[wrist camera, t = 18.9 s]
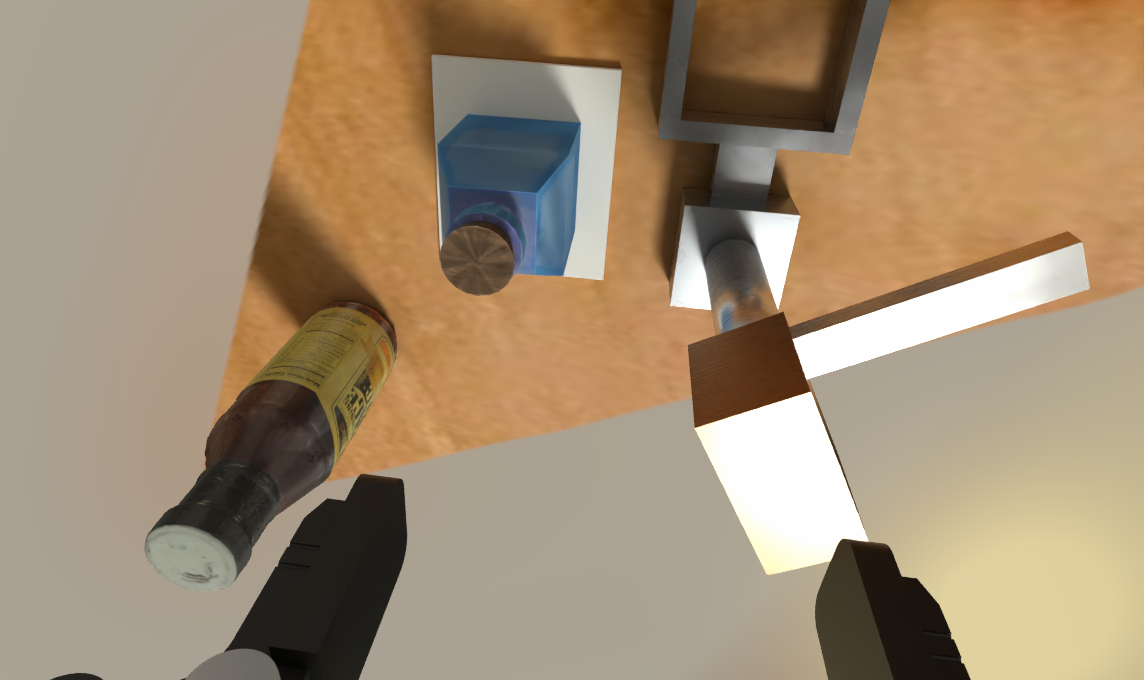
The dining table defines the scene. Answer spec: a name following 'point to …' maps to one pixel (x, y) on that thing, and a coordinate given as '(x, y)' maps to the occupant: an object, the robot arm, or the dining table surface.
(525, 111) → the pad
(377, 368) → the sauce bottle
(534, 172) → the perfume bottle
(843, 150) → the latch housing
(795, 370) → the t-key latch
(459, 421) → the dining table surface
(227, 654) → the robot arm
